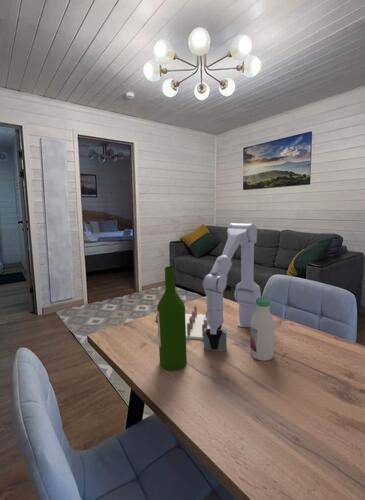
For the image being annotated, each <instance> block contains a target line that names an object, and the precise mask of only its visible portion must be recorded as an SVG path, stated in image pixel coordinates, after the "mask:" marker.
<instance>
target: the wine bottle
mask: <svg viewBox="0 0 365 500" xmlns="http://www.w3.org/2000/svg"><path fill="white" fill-rule="evenodd" d="M175 277H176V275H175V267H174V266H165V267H164V287H165V288H164V289H165V290H164V293H163V295H162V296H161V298H160V300H159V302H158V303H157V308H156V315H157V318H158V321H157V332H158V350H159V351H158V352H159V354H158V355H159V365H160V367H161V368H162V369H163V370H165V371H169V372H170V371H171V372H172V371H173V372H175V371H180V370H182V369H183V368H185V367H186V366H187V363H188V359H187V357H188V356H187V339H186V322H185V314H186V306H185V302H184V301H183V300H182V298H181V297H180V295H179V294H178V292H177V291H176V278H175Z"/></svg>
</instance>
